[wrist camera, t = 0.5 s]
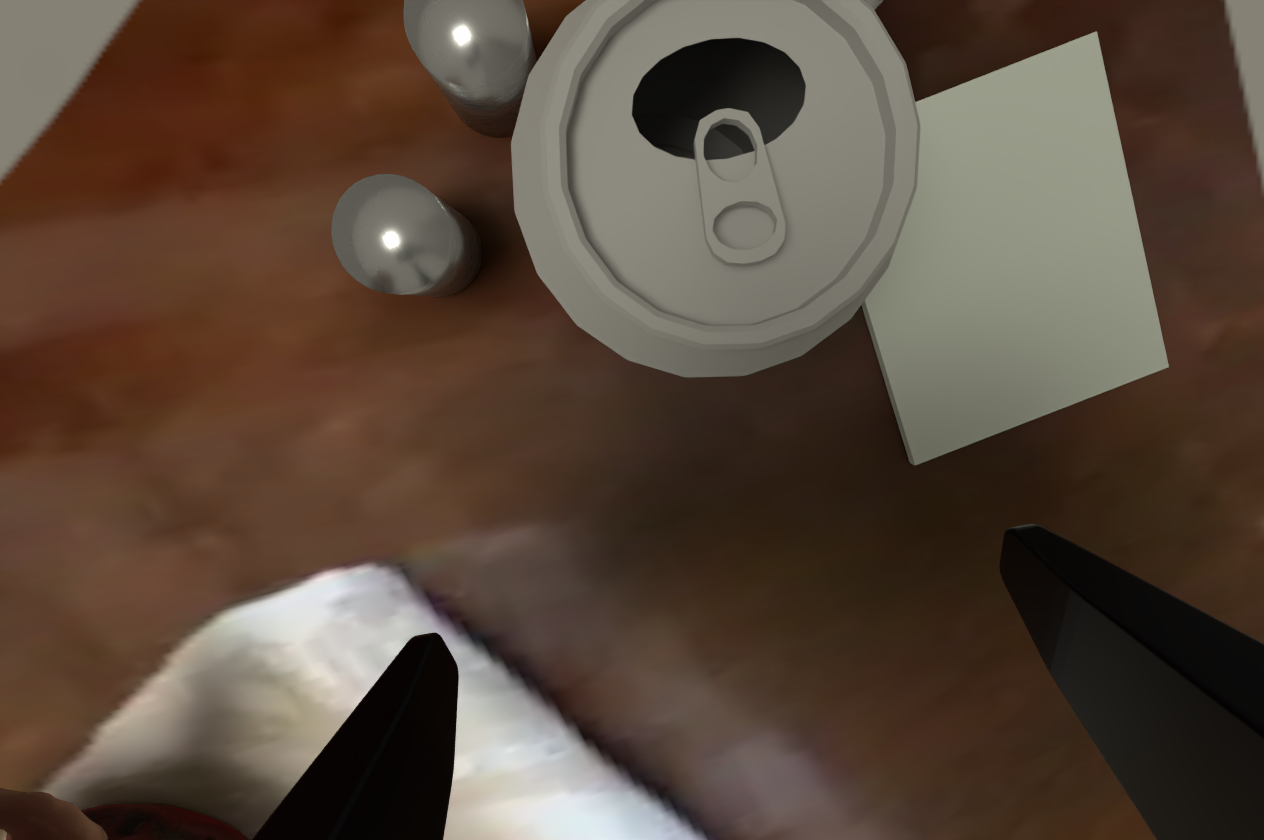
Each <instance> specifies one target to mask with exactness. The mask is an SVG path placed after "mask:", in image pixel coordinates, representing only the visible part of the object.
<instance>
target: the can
mask: <svg viewBox="0 0 1264 840" xmlns="http://www.w3.org/2000/svg"><path fill="white" fill-rule="evenodd" d="M920 127H921V125H920V120H919V116H918V112H917V108H916V104H915V99H914V95H913V91H912V87H911V83H910V78H909V74H908V70H907V66H906V63H905V61H904V59H903V58H902V56H901V54H900V53H899V51H898V49H897V48H896V46H895V44H894V42H893V41H892V39H891V37H890V36H889V34H888V32H887V31H886V29H885V27H884V26H883V24H882V22H881V21H880V19H879V17H878V16H877V14H876V12H875V11H874V9H873V8H872V7H871V6H870V5H868V4H867V3H866V2H865V1H864V0H586V1H585V2H583V3H582V4H581V5H580V6H578V7H577V8H576V9H575V10H573V11H572V12H571V13H570V14H568V15H567V16H566V17H565V19H564V20H563V22H562V23H561V25H560V27H559V28H558V30H557V31H556V33H555V34H554V36H553V38H552V39H551V41H550V42H549V44H548V46H547V47H546V49H545V50H544V52H543V53H542V55H541V57H540V58H539V60H538V61H537V63H536V64H535V66H534V68H533V69H532V71H531V72H530V74H529V75H528V79H527V83H526V87H525V91H524V95H523V99H522V102H521V106H520V110H519V114H518V118H517V122H516V126H515V130H514V133H513V137H512V141H511V152H512V172H513V192H514V211H515V214H516V217H517V220H518V222H519V225H520V228H521V231H522V233H523V236H524V239H525V242H526V244H527V247H528V250H529V252H530V255H531V258H532V261H533V263H534V266H535V269H536V272H537V274H538V275H539V277H540V278H541V279H542V281H543V282H544V283H545V285H546V286H547V287H548V288H549V290H550V291H551V292H552V294H553V295H554V296H555V298H556V299H557V300H558V301H559V303H560V304H561V305H562V307H563V308H564V309H565V311H566V312H567V313H568V315H569V316H570V317H571V318H572V320H573V321H574V322H575V324H576V325H577V326H579V327H580V328H582V329H583V330H585V331H586V332H588V333H589V334H590V335H592V336H593V337H595V338H596V339H598V340H599V341H600V342H602V343H603V344H605V345H606V346H608V347H609V348H611V349H612V350H613V351H615V352H616V353H618V354H619V355H621V356H622V357H624V358H625V359H626V360H629V361H632V362H635V363H639V364H642V365H645V366H649V367H652V368H655V369H659V370H662V371H665V372H669V373H672V374H675V375H679V376H682V377H720V376H746V375H749V374H752V373H754V372H757V371H760V370H763V369H766V368H769V367H772V366H774V365H777V364H780V363H783V362H786V361H789V360H791V359H794V358H797V357H800V356H802V355H804V354H805V353H806V352H808V351H809V350H810V349H812V348H813V347H814V346H816V345H817V344H818V343H820V342H821V341H822V340H824V339H825V338H826V337H828V336H829V335H830V334H832V333H833V332H834V331H836V330H837V329H838V328H840V327H841V326H842V325H844V324H845V323H846V322H848V321H849V320H850V319H851V318H852V317H853V315H854V314H855V313H856V311H857V310H858V309H859V307H860V306H861V304H862V303H863V302H864V300H865V299H866V298H867V296H868V295H869V294H870V292H871V291H872V289H873V288H874V287H875V285H876V284H877V283H878V281H879V280H880V279H881V277H882V276H883V274H884V273H885V272H886V270H887V269H888V267H889V264H890V261H891V259H892V256H893V253H894V250H895V247H896V245H897V242H898V240H899V237H900V234H901V231H902V228H903V226H904V223H905V220H906V217H907V214H908V212H909V209H910V206H911V203H912V200H913V198H914V195H915V192H916V189H917V179H918V161H919V144H920Z"/></svg>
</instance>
